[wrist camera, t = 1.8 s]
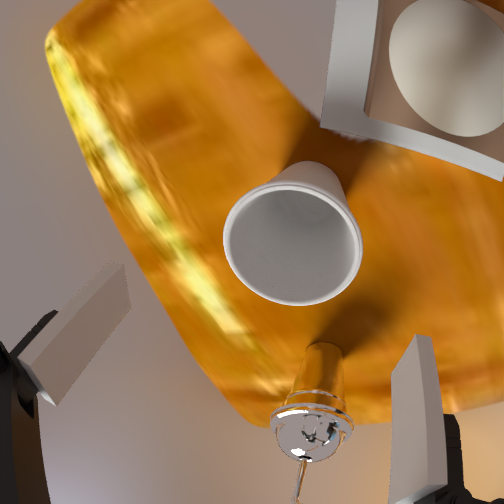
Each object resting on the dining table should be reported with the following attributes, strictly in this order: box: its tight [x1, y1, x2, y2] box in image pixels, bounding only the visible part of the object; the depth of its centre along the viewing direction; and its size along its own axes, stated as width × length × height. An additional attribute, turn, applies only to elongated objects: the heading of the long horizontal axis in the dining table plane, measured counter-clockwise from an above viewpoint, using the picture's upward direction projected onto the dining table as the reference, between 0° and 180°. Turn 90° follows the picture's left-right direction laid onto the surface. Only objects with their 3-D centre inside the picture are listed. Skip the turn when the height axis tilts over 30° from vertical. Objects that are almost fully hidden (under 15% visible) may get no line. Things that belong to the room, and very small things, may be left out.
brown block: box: [363, 0, 504, 163], centre depth 15 cm, size 10×10×5 cm
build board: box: [320, 0, 504, 182], centre depth 18 cm, size 16×14×2 cm
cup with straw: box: [270, 342, 354, 504], centre depth 28 cm, size 8×9×20 cm
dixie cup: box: [223, 161, 363, 306], centre depth 23 cm, size 8×8×10 cm
